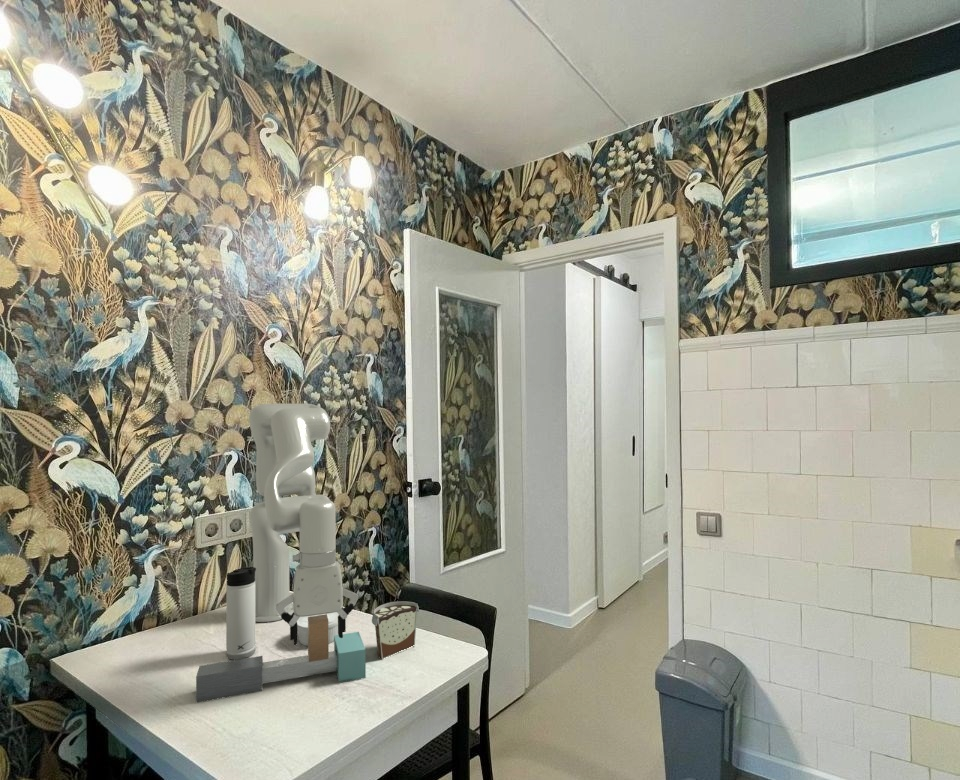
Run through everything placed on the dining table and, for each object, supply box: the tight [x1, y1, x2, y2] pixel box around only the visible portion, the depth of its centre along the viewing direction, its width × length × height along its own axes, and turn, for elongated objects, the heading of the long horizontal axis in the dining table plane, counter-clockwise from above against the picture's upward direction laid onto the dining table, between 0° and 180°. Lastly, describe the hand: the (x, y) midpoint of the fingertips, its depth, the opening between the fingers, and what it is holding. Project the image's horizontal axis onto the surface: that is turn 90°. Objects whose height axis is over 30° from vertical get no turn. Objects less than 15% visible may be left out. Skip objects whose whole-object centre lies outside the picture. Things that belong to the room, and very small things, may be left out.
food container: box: [371, 600, 420, 660], centre depth 131 cm, size 12×6×10 cm, turn 135°
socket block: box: [333, 631, 367, 683], centre depth 120 cm, size 6×10×6 cm, turn 20°
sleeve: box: [195, 655, 264, 703], centre depth 112 cm, size 12×5×5 cm, turn 110°
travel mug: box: [225, 566, 256, 661], centre depth 129 cm, size 6×7×20 cm
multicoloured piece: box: [262, 614, 338, 685], centre depth 117 cm, size 19×4×11 cm, turn 110°
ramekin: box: [297, 612, 339, 647], centre depth 137 cm, size 11×11×5 cm
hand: (318, 639), depth 118 cm, fingers open, 9 cm apart
